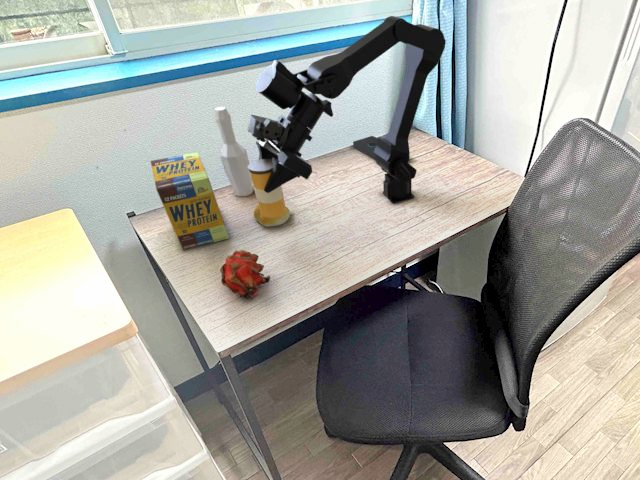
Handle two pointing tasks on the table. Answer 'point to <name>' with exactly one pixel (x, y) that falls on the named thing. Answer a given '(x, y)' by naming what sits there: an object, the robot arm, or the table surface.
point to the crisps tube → (260, 174)
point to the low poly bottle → (233, 156)
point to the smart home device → (367, 146)
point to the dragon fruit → (243, 274)
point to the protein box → (189, 200)
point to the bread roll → (271, 221)
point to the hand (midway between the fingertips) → (260, 186)
